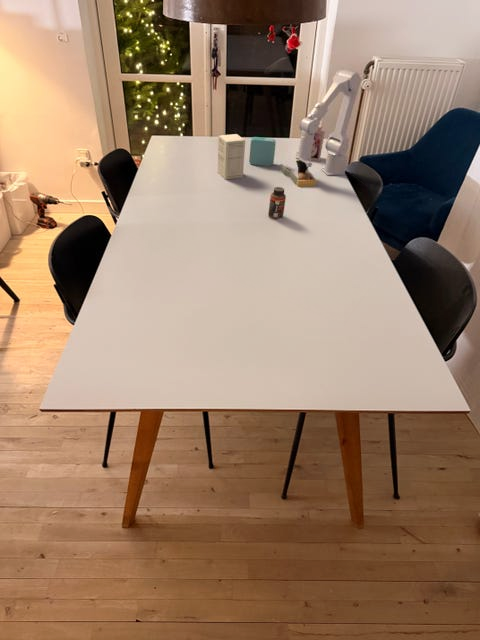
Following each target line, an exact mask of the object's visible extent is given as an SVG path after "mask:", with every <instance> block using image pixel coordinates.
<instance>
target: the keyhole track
mask: <svg viewBox="0 0 480 640" xmlns="http://www.w3.org/2000/svg"><path fill="white" fill-rule="evenodd" d="M279 171H280V172H281V173H282V174H283V175H284V176H285V177H288V178H289V179H290V180H291V181H292V182H293V183H294V184H295V186H296V187H309V186H310V187H312V186H315V187H316V186H317V185H316V184H317V179H316V177H314V176H313V175H312V174H311V173H310V172H309V168H308V169H307V170H306V173H309V174H310V180H299V179H298V177H297V176H296V174H295V173H294V172H293V171H292V170H288V169H287V168H286V167H285V165H284V164H282V163H280V164H279Z"/></svg>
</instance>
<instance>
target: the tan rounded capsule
mask: <svg viewBox="0 0 480 640" xmlns="http://www.w3.org/2000/svg"><path fill="white" fill-rule="evenodd" d="M309 173H310V172H309ZM309 173H306V172H301V173H299V176H298V175H297V176H298V177H297V178H298V179H299V180H310V174H311V173H310V174H309Z"/></svg>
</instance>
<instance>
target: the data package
mask: <svg viewBox="0 0 480 640" xmlns="http://www.w3.org/2000/svg"><path fill="white" fill-rule="evenodd" d="M275 154H276V139H275V138H272V137H259V136H253V137H251V138H250V146H249V156H248V157H249V158H248V159H249V160H248V162H249V164H250V165H254V166H262V165H263V166H262V167H264V166H266V167H272V166H273V165H274V161H275Z"/></svg>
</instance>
